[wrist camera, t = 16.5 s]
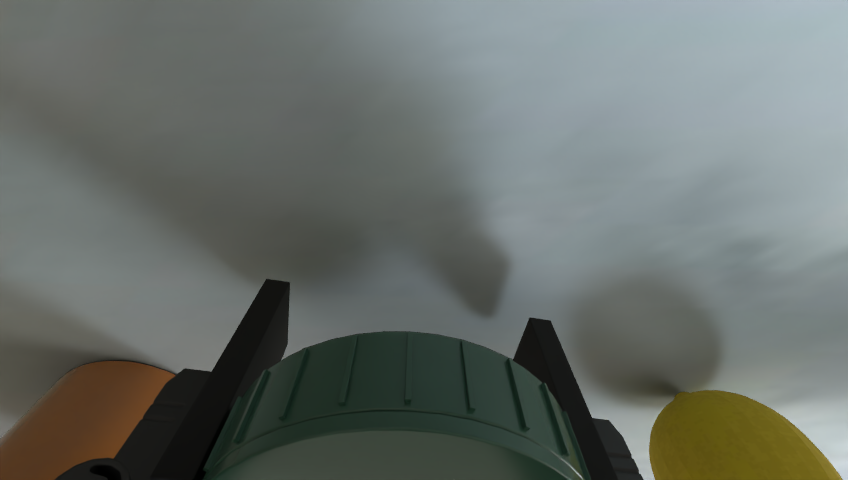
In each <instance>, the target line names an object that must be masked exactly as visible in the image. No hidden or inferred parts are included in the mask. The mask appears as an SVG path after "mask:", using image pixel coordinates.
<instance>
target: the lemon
mask: <svg viewBox="0 0 848 480" xmlns="http://www.w3.org/2000/svg"><path fill="white" fill-rule="evenodd" d="M649 455H650V462H651V467H652V471H653V474H654V477H655V480H843V479H842V478H841V476H840V475H839V474H838V472H837V471H836V469H835V468H834V467H833V465H832V464H831V463H830V462H829V460H828V459H827V458H826V457H825V456H824V455H823V453H822V452H821V451H820V450H819V449H818V448H817V447H816V446H815V445H814V444H813V443H812V442H811V441H810V440H809V439H808V438H807V437H806V436H805V435H804V434H803V433H802V432H801V431H800V430H799V429H798V428H797V427H796V426H795V425H793V424H792V423H791V422H790V421H788V420H787V419H786V418H785V417H783V416H782V415H780V414H779V413H777V412H776V411H774V410H773V409H771V408H769V407H767V406H765V405H763V404H761V403H759V402H757V401H755V400H753V399H750V398H748V397H746V396H743V395H739V394H736V393H731V392H725V391H718V390H705V391H698V392H692V393H689V392H680V393H678V394H677V395H676V396H675V398H674V400H673V401H672V402H671V403H669V404H668V405H667V406H666V407H665V408H664V409H663V410H662V411H661V413H660V414H659V415H658V417H657V419H656V421H655V423H654V425H653V427H652V431H651V436H650V445H649Z"/></svg>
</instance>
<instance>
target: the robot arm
mask: <svg viewBox="0 0 848 480" xmlns="http://www.w3.org/2000/svg"><path fill="white" fill-rule="evenodd" d="M289 291H290V282H284V281H277V280H270V279H266V280H265V282H264V284H263V285H262V287H261V289H260V291H259V292H258V294H257V296H256V297H255V299H254V301H253V302H252V304H251V306H250V308H249V309H248V311H247V313H246V314H245V316H244V318H243V319H242V321H241V323H240V325H239V326H238V328H237V330H236V331H235V333H234V335H233V336H232V338H231V340H230V342H229V343H228V345H227V347H226V348H225V350H224V352H223V353H222V355H221V357H220V359H219V360H218V362H217V364H216V365H215V367H214V369H213V370H212V372H209V371H201V370H193V369H184V370H182V371H181V372H180V373H178V374H177V375H176V376H174V377H173V378H172V379H170V380H169V381H168V382H167V383H166V384H165V385H164V387H163V388H162V389H161V391H160V392H159V394H158V395H157V397H156V398H155V400H154V402H153V404H151V405H150V407H149V408H148V410H147V411H146V412H145V414H144V415H143V419H141V420H140V421H139V423H138V424H137V425H136V427H135V428H134V430H133V431H132V433H131V434H130V435H129V437H128V438H127V440H126V441H125V443H124V444H123V446H122V447H121V448H120V450H119V451H118V453H117V454H116V456H115V457H114V458H113V459H112V458H98V459H91V460H88V461H86V462H83V463H80V464H77V465H75V466H73V467H72V468H70V469H68V470H67V471H65V472H64V473H62V474H61V475H59V476H58V477H57V478H56V479H55V480H202V479H203V476H204V474H205V472H206V471H203V468H204V466H205V464H206V462H207V460H208V458H209V455H210V453H211V451H212V449H213V447H214V445H215V443H216V441H217V439H218V437H219V435H220V433H221V430H222V428H223V426H224V424H225V422H226V420H227V418H228V416H229V414H230V412H231V410H232V408H233V405H234V403H235V401H236V399H237V398H238V396H240V397H242V396H243V394H244V393H245V392H246V391H247V390H248V388H249V387H250V386H251V385H252V383H253V382H254V381H255V380H256V379H258V378H259V377H260V376H261V374H262V372H263V371H264V370H265V369H267V370H268V369H269V368H270V367H272V366H274V365H275V364H277V363H278V362H280V361H281V359H282V356H283V354H284V352H285V349H286V347H287V344H288V317H289ZM513 361H514V362H516V363H517V364H519V365H521V366H522V367H524V368H525V369H527V370H528V371H529V372H530V373H531V374H533V375H534V376H535V377H536V378H537V379H539V380H540V381H541V382H542V383H546V384H547V387H548V390H549V391H550V392H551V394H552V395H553V396H554V398H555V399H556V401H557V403H558V404H559V406H560V408H561V409H562V412H564V411H566V412H567V414H568V417H569V420H570V423H571V425H572V428H573V431H574V434H575V436H576V439H577V442H578V444H579V447H580V450H581V453H582V455H583V458H584V461H585V464H586V466H587V469H588V472H589V475H590V477H591V480H643V478H642V476H641V474H639V470H638V468H637V465H636V463H635V461H634V459H632V458H631V456H632V455H631V453H630V451H629V449H628V447H627V445H626V443H625V440H624V438H623V437H622V435H621V434H620V433H619V432H618V431H617V430H616V428H615V427H614V426H613V425H612V424H611V423H610V421H609V420H603V419H595V418H592V417H591V415H590V412H589V410H588V407H587V405H586V403H585V400H584V398H583V396H582V393H581V391H580V389H579V386H578V384H577V382H576V379H575V377H574V375H573V372H572V370H571V368H570V365H569V363H568V361H567V358H566V356H565V353H564V351H563V349H562V346H561V344H560V342H559V339H558V337H557V335H556V332H555V330H554V328H553V325H552V323H551V321H550V320H543V319H536V318H529V321H528V323H527V326H526V328H525V331H524V333H523V336H522V338H521V341H520V344H519V346H518V349H517V351H516V354H515V356H514V359H513Z"/></svg>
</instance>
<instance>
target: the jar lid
mask: <svg viewBox="0 0 848 480" xmlns="http://www.w3.org/2000/svg"><path fill="white" fill-rule="evenodd" d="M203 471H206V472H205V474H204V476H203V479H202V480H591V477H590V475H589V472H588V469H587V466H586V464H585V461H584V458H583V455H582V453H581V450H580V447H579V444H578V442H577V439H576V436H575V434H574V431H573V428H572V425H571V423H570V420H569V417H568V414H567V412H566V411H564V412H562V409H561V408H560V406H559V404H558V403H557V401H556V399H555V398H554V396H553V395H552V394H551V392H550V391H549V390H548V387H547V384H546V383H542V382H541V381H540V380H539V379H537V378H536V377H535V376H534V375H533V374H531V373H530V372H529V371H528V370H527V369H525V368H524V367H522V366H521V365H519V364H517V363H516V362H514V361H513V360H512V359H511V358H508V357H506V356H504V355H502V354H499V353H497V352H495V351H493V350H491V349H488V348H486V347H484V346H480V345H477V344H474V343H471V342H468V341H465V340H462V339H457V338H452V337H447V336H443V335H438V334H430V333H420V332H410V331H383V332H373V333H363V334H355V335H350V336H345V337H340V338H335V339H331V340H328V341H325V342H322V343H319V344H316V345H313V346H310V347H307V348H304V349H302V350H301V351H298V352H296V353H294V354H292V355H290V356H288V357H286V358H285V359H283V360H281V361H280V362H278V363H277V364H275V365H274V366H272V367H270V368H269V369H268V370H267V369H265V370H264V371H263V372H262V374H261V376H260V377H259V378H258V379H256V380H255V381H254V382H253V383H252V385H251V386H250V387H249V388H248V390H247V391H246V392H245V393H244V394H243V396H242V397H240V396H238V398H237V399H236V401H235V403H234V405H233V408H232V410H231V412H230V414H229V416H228V418H227V420H226V422H225V424H224V426H223V428H222V430H221V433H220V435H219V437H218V439H217V441H216V443H215V445H214V447H213V449H212V451H211V453H210V455H209V458H208V460H207V462H206V464H205V466H204V468H203Z"/></svg>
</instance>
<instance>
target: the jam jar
mask: <svg viewBox="0 0 848 480" xmlns="http://www.w3.org/2000/svg"><path fill="white" fill-rule="evenodd" d="M174 376H176V375H175V374H172V373H170V372H168V371H165V370H162V369H159V368H156V367H153V366H149V365H145V364H141V363H135V362H128V361H100V362H93V363H89V364H85V365H82V366H79V367H77V368H74V369H73V370H71V371H69V372H67V373H66V374H65V375H64V376H62V377H61V378H60V379H59V380H58V381H57V382H56V383H55V384H54V385H53V386H52V387H51V388H50V389H49V390H48V391H47V392H46V393H45V394H44V395H43V396H42V397H41V398H40V399H39V400H38V401H37V402H36V403H35V404H34V405H33V406H32V407H31V408H30V409H29V410H28V411H27V412H26V413H25V414H24V415H23V416H22V417H21V418H20V419H19V420H18V421H17V422H16V423H15V424H14V425H13V426H12V427H11V428H10V429H9V430H8V431H7V432H6V433H5V434H4V435H3V436H2V437H1V438H0V480H55V479H56V478H57V477H58V476H59V475H61V474H62V473H64V472H65V471H67V470H68V469H70V468H72V467H73V466H75V465H77V464H80V463H83V462H86V461H88V460H91V459H98V458H112V459H113V458H114V457H115V456H116V454H117V453H118V451H119V450H120V448H121V447H122V446H123V444H124V443H125V441H126V440H127V438H128V437H129V435H130V434H131V433H132V431H133V430H134V428H135V427H136V425H137V424H138V423H139V421H140V420H141V419H143V415H144V414H145V412H146V411H147V410H148V408H149V407H150V405H151V404H153V402H154V400H155V398H156V397H157V395H158V394H159V392H160V391H161V389H162V388H163V387H164V385H165V384H166V383H167V382H168V381H169V380H170V379H172V378H173V377H174Z"/></svg>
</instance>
